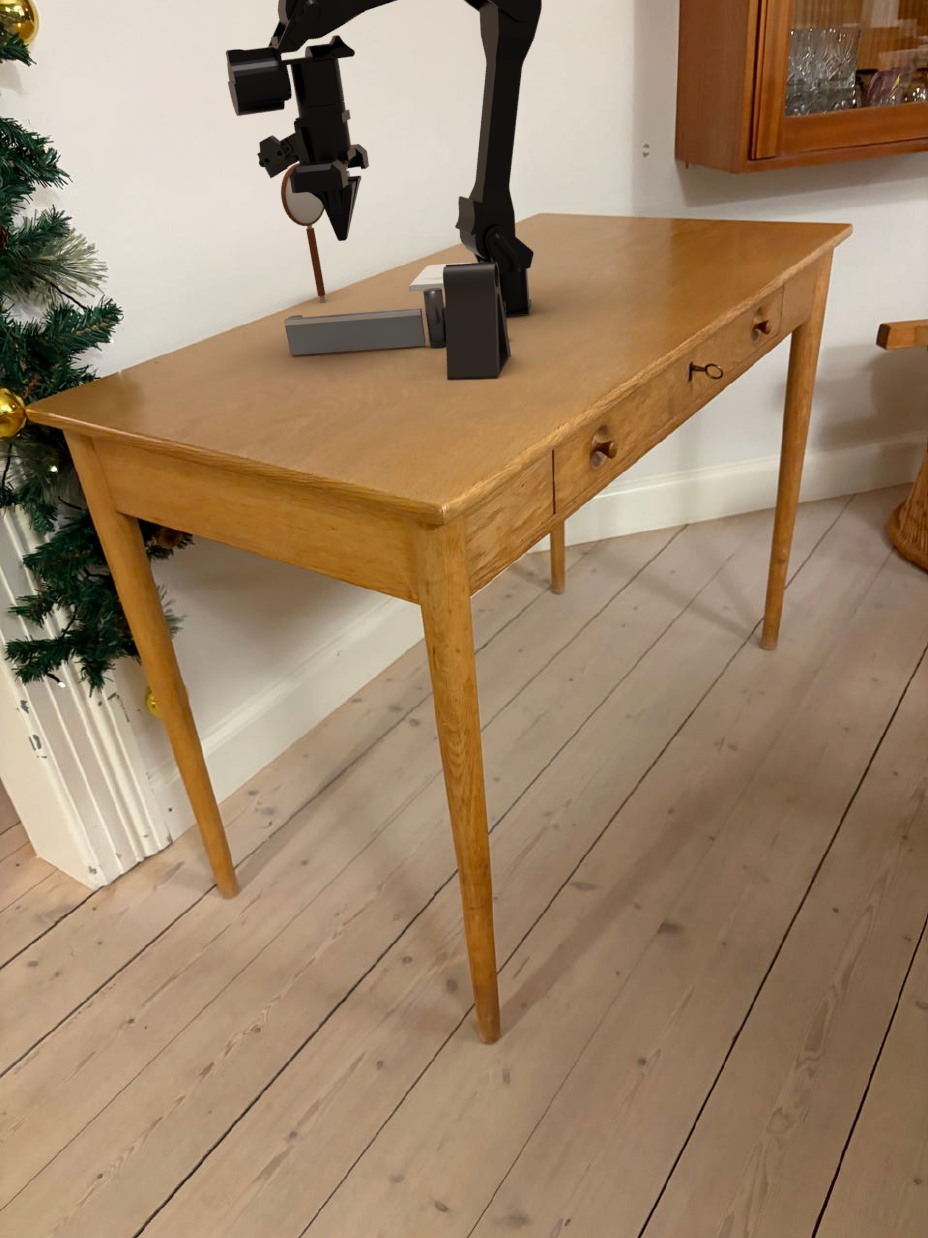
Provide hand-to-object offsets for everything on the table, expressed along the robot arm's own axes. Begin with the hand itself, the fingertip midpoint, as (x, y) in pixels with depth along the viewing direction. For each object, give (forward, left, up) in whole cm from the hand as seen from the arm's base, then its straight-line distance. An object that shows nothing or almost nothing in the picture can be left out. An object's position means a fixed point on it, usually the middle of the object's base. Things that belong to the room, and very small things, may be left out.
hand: (342, 240), depth 127 cm
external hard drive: (-8, -31, -14) cm, 35 cm away
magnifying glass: (+10, -23, -13) cm, 29 cm away
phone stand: (-18, +15, -13) cm, 27 cm away
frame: (-6, +4, -13) cm, 15 cm away
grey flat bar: (-1, +5, -13) cm, 14 cm away
